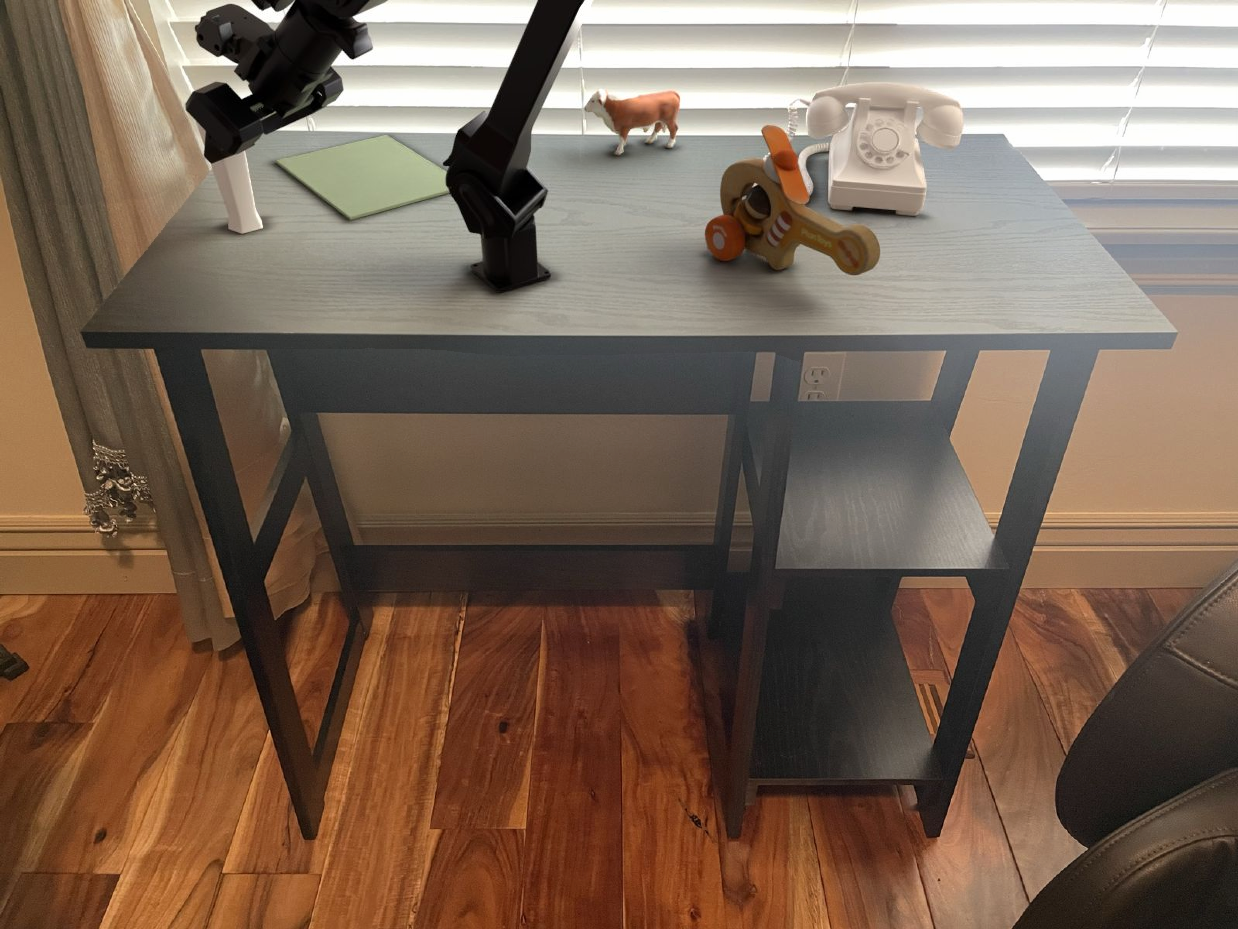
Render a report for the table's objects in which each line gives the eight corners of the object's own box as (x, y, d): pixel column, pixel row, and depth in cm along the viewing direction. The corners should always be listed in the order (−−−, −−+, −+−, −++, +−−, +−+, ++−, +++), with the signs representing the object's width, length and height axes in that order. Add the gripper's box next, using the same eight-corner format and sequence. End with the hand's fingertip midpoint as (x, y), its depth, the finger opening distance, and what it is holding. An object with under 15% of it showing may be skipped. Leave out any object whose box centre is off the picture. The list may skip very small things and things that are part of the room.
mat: (468, 187, 117) (468, 184, 116) (350, 220, 109) (350, 217, 109) (386, 137, 130) (386, 134, 130) (276, 163, 122) (275, 160, 122)
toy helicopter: (746, 229, 108) (759, 109, 99) (890, 298, 96) (919, 168, 87) (695, 249, 104) (703, 125, 95) (838, 324, 92) (863, 190, 83)
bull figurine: (582, 147, 128) (581, 86, 123) (674, 138, 131) (676, 78, 126) (591, 158, 125) (590, 96, 119) (684, 149, 128) (688, 87, 123)
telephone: (744, 203, 114) (755, 99, 106) (756, 143, 130) (766, 48, 122) (955, 222, 110) (982, 115, 102) (940, 157, 126) (963, 61, 118)
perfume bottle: (224, 220, 108) (188, 88, 99) (263, 215, 110) (231, 84, 100) (225, 237, 105) (188, 101, 96) (266, 231, 106) (233, 97, 97)
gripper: (298, -40, 96) (234, 60, 105) (172, 0, 82) (113, 111, 92) (376, 49, 99) (307, 138, 108) (268, 103, 85) (200, 199, 95)
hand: (236, 144), depth 101 cm, fingers open, 9 cm apart
